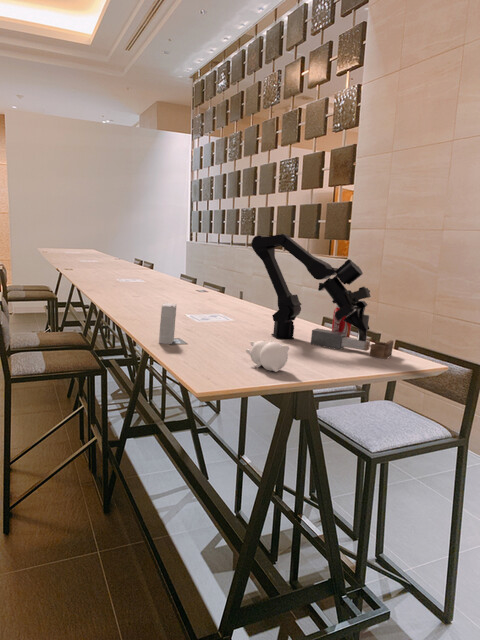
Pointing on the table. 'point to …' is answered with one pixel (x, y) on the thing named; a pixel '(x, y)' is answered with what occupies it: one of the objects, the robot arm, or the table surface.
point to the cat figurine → (268, 354)
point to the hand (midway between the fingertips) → (367, 330)
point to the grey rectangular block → (327, 338)
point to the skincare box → (167, 323)
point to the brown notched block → (381, 349)
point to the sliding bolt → (358, 337)
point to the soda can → (341, 324)
